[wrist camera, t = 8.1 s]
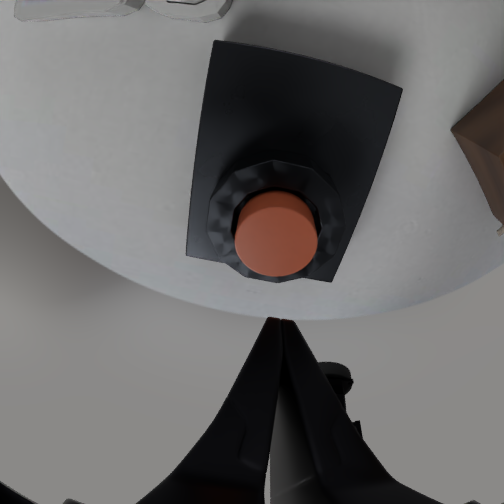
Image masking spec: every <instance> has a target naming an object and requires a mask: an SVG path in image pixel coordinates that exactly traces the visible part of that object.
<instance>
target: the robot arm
mask: <svg viewBox="0 0 504 504" xmlns="http://www.w3.org/2000/svg"><path fill="white" fill-rule="evenodd" d="M353 383H354V381H353V379H350V378H335V377H326V376H325V374H324V373H323V371H322V369H321V367H320V366H319V364H318V362H317V360H316V359H315V357H314V355H313V354H312V351H311V350H310V348H309V346H308V344H307V343H306V341H305V339H304V337H303V336H302V334H301V332H300V330H299V329H298V327H297V325H296V323H295V322H294V321H293V320H287V319H281V320H280V319H279V318H274V317H268V318H267V319H266V321H265V324H264V326H263V328H262V330H261V332H260V334H259V336H258V338H257V340H256V342H255V344H254V346H253V348H252V350H251V352H250V353H249V356H248V358H247V359H246V362H245V363H244V365H243V367H242V369H241V371H240V373H239V375H238V377H237V379H236V381H235V383H234V385H233V387H232V388H231V390H230V392H229V394H228V396H227V398H226V399H225V401H224V403H223V405H222V407H221V409H220V410H219V412H218V414H217V415H216V417H215V419H214V420H213V422H212V423H211V425H210V426H209V427H208V429H207V430H206V431H205V433H204V434H203V435H202V437H201V438H200V440H198V442H197V443H196V444H195V445H194V447H193V448H192V449H191V450H190V452H189V453H188V454H187V455H186V456H185V458H184V459H183V460H182V461H181V463H180V464H179V465H178V466H177V467H176V468H175V469H174V471H173V472H172V473H171V474H170V475H169V476H168V477H167V478H166V479H165V480H163V481H162V482H161V483H160V484H159V485H158V486H157V487H155V488H154V489H153V490H152V491H151V492H150V493H148V494H147V495H146V496H145V497H143V498H142V499H141V500H140V501H139V502H137V503H136V504H265V500H264V486H265V478H266V474H265V473H266V472H267V466H268V460H269V454H270V497H271V499H270V504H443V503H440V502H438V501H436V500H434V499H431V498H429V497H427V496H425V495H423V494H421V493H419V492H417V491H415V490H412V489H411V488H409V487H407V486H405V485H403V484H401V483H399V482H398V481H396V480H395V479H394V478H392V476H391V475H390V474H389V473H388V472H387V471H386V470H385V468H384V467H383V466H382V464H381V463H380V462H379V460H378V459H377V458H376V456H375V455H374V454H373V452H372V451H371V450H370V448H369V447H368V446H367V444H366V443H365V441H364V440H363V437H362V431H361V425H360V421H355V422H351V420H350V418H349V417H348V415H347V413H346V403H345V395H344V394H345V393H346V391H347V390H348V389H349V388H350V387H351V386H352V385H353ZM0 504H37V503H35V502H34V501H32V500H30V499H28V498H26V497H25V496H23V495H21V494H20V493H18V492H17V491H15V490H13V489H12V488H10V487H9V486H7V485H5V484H4V483H2V482H1V481H0ZM63 504H84V503H81V502H78V501H75V500H72V499H66V500H65V502H64V503H63ZM465 504H480V503H478V502H476V501H475V500H473V501H470V502H467V503H465ZM502 504H504V503H502Z"/></svg>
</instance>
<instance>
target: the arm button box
mask: <svg viewBox="0 0 504 504" xmlns="http://www.w3.org/2000/svg"><path fill="white" fill-rule="evenodd" d="M402 91H403V89H402V88H400V87H398V86H396V85H393V84H391V83H388V82H386V81H383V80H380V79H378V78H375V77H372V76H370V75H367V74H364V73H361V72H358V71H355V70H352V69H349V68H346V67H343V66H340V65H336V64H333V63H330V62H326V61H323V60H319V59H315V58H312V57H308V56H304V55H300V54H295V53H291V52H286V51H282V50H277V49H272V48H267V47H261V46H256V45H249V44H243V43H236V42H228V41H220V40H214V42H213V47H212V52H211V57H210V63H209V68H208V74H207V80H206V86H205V92H204V98H203V104H202V111H201V117H200V124H199V131H198V139H197V146H196V154H195V162H194V170H193V179H192V188H191V198H190V208H189V219H188V230H187V243H186V256H190V257H196V258H201V259H206V260H211V261H216V262H222V263H226V264H227V265H229V266H230V267H232V268H233V269H234V270H236V271H237V272H239V273H240V274H242V275H243V276H244V277H247V278H253V279H258V280H264V281H269V282H275V283H281V282H285V281H290V280H294V279H298V278H308V279H314V280H319V281H325V282H332V281H333V278H334V276H335V274H336V272H337V269H338V267H339V265H340V263H341V260H342V258H343V256H344V253H345V251H346V249H347V246H348V244H349V242H350V239H351V237H352V234H353V232H354V229H355V227H356V225H357V222H358V220H359V217H360V215H361V212H362V209H363V207H364V204H365V202H366V199H367V196H368V194H369V191H370V188H371V186H372V183H373V180H374V178H375V175H376V172H377V169H378V166H379V164H380V161H381V158H382V155H383V152H384V149H385V146H386V143H387V140H388V137H389V134H390V131H391V128H392V124H393V121H394V118H395V115H396V111H397V108H398V105H399V101H400V98H401V94H402ZM274 190H278V191H285V192H289V193H292V194H294V195H296V196H298V197H299V198H301V199H302V200H303V201H304V202H305V203H306V204H307V205H308V207H309V208H310V210H311V212H312V215H313V219H314V224H315V228H316V232H317V238H318V244H317V249H316V252H315V255H314V257H313V258H312V260H311V261H310V262H309V263H308V264H307V265H306V266H305V267H304V268H302V269H301V270H299V271H297V272H295V273H293V274H290V275H286V276H266V275H262V274H259V273H257V272H255V271H253V270H251V269H250V268H248V267H247V266H246V265H245V264H244V263H243V262H242V261H241V259H240V258H239V256H238V254H237V252H236V248H235V234H236V229H237V224H238V219H239V215H240V212H241V210H242V208H243V207H244V205H245V204H246V203H247V202H248V201H249V200H250V199H251V198H253V197H254V196H256V195H258V194H260V193H263V192H267V191H274Z"/></svg>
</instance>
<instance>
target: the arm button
mask: <svg viewBox="0 0 504 504" xmlns="http://www.w3.org/2000/svg"><path fill="white" fill-rule="evenodd" d="M317 244H318V238H317V232H316V228H315V224H314V219H313V215H312V212H311V210H310V208H309V207H308V205H307V204H306V203H305V202H304V201H303V200H302V199H301V198H299V197H298V196H296V195H294V194H292V193H289V192H285V191H278V190H274V191H267V192H263V193H260V194H258V195H256V196H254V197H253V198H251V199H250V200H249V201H248V202H247V203H246V204H245V205H244V207H243V208H242V210H241V212H240V215H239V219H238V224H237V229H236V234H235V248H236V252H237V254H238V256H239V258H240V259H241V261H242V262H243V263H244V264H245V265H246V266H247V267H248V268H250V269H251V270H253V271H255V272H257V273H259V274H262V275H266V276H286V275H290V274H293V273H295V272H297V271H299V270H301V269H302V268H304V267H305V266H306V265H307V264H308V263H309V262H310V261H311V260H312V258H313V257H314V255H315V252H316V249H317Z"/></svg>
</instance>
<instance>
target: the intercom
mask: <svg viewBox="0 0 504 504" xmlns="http://www.w3.org/2000/svg"><path fill="white" fill-rule="evenodd" d="M144 2H145V3H146V6H148V7H149V8H151V9H153V10H154V11H156V12H158V13H159V14H162V15H165V16H167V17H170V18H173V19H182V20H190V21H198V22H205V23H206V22H210V21H214V20H217V19H221V18H222V17H223V16H224V15H225V14H226V12H227V11H228V10H229V8H230V5H231V2H232V0H16V2H15V6H14V16H15V18H17V19H19V20H20V21H48V20H56V19H65V18H77V17H93V16H126V15H128V14H130V13H133V12H135V11H138V10H139V9H140V8H141V6H142V5H143V3H144Z"/></svg>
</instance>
